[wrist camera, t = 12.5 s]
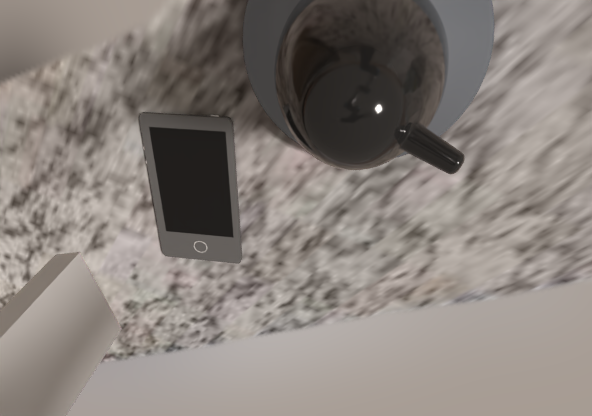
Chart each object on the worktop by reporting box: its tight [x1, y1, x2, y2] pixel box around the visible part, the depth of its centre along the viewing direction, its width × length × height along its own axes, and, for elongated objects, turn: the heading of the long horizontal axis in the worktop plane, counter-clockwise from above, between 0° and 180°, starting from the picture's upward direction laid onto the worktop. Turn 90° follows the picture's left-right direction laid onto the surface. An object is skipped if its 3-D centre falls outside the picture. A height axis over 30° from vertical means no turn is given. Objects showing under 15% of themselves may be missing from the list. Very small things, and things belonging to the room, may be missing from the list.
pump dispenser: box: [274, 0, 465, 174], centre depth 26 cm, size 10×10×15 cm
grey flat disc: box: [243, 0, 494, 157], centre depth 33 cm, size 17×17×2 cm
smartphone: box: [139, 112, 242, 263], centre depth 43 cm, size 15×8×1 cm, turn 0°
